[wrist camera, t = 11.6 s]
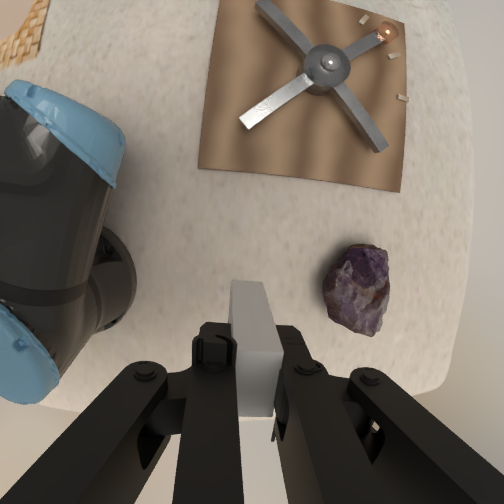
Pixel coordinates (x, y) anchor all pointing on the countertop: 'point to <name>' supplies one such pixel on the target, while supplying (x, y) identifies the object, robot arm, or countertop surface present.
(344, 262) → the rock
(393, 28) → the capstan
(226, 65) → the board
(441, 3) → the countertop surface
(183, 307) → the countertop surface
